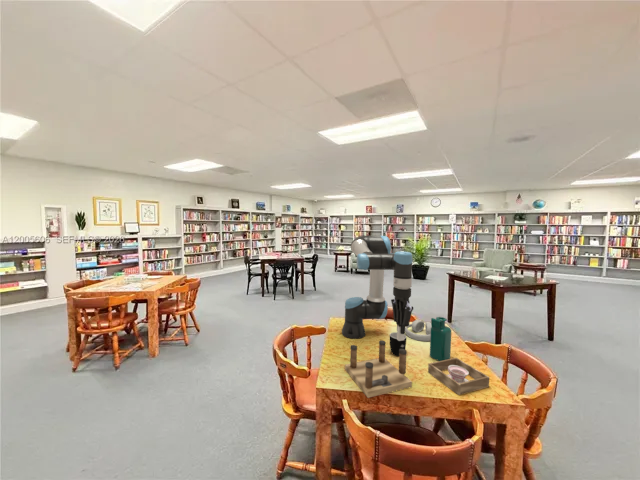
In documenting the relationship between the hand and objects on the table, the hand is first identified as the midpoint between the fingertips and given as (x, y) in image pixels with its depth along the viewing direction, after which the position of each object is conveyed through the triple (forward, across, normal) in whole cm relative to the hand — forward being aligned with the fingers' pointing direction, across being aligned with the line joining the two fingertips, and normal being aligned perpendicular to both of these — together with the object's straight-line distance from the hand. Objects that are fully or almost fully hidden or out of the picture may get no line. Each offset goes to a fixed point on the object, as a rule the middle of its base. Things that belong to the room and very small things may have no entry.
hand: (400, 339), depth 114 cm
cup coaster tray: (+21, +4, +28) cm, 35 cm away
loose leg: (+15, 0, +1) cm, 15 cm away
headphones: (+21, -41, +45) cm, 64 cm away
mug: (+21, -25, +18) cm, 37 cm away
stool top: (+21, -8, -7) cm, 23 cm away
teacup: (+21, +7, +26) cm, 34 cm away
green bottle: (+21, -14, +35) cm, 43 cm away
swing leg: (+18, +1, -12) cm, 21 cm away
